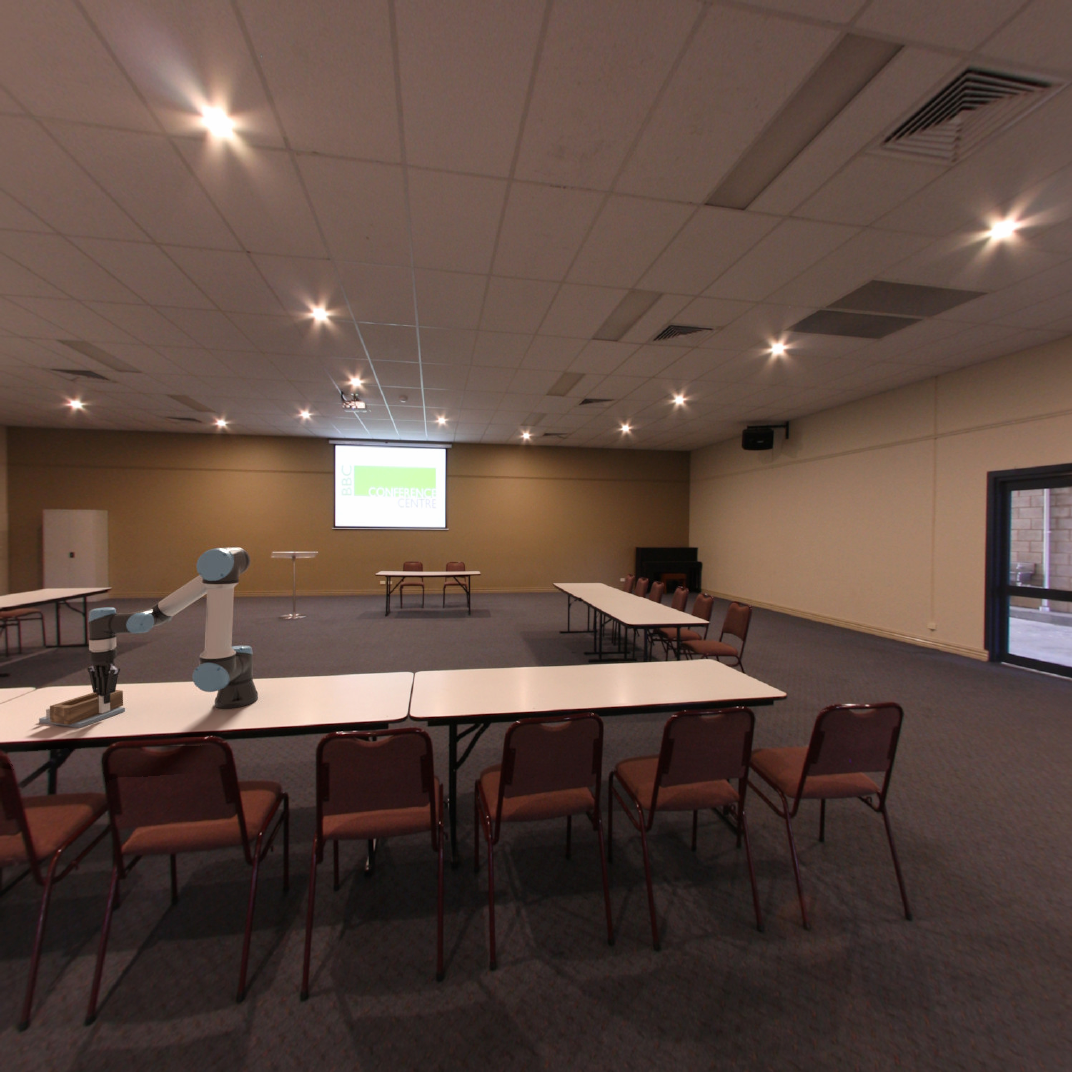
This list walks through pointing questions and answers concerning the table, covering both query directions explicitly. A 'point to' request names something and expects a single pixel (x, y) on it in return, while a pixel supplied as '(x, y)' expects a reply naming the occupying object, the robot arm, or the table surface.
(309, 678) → the table surface
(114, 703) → the frame
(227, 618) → the robot arm
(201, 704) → the table surface
